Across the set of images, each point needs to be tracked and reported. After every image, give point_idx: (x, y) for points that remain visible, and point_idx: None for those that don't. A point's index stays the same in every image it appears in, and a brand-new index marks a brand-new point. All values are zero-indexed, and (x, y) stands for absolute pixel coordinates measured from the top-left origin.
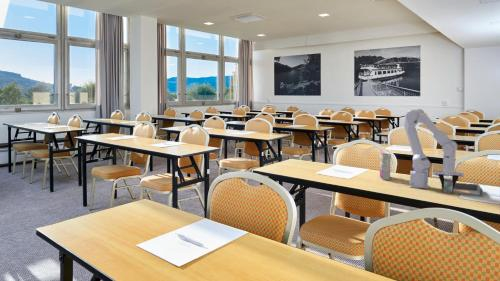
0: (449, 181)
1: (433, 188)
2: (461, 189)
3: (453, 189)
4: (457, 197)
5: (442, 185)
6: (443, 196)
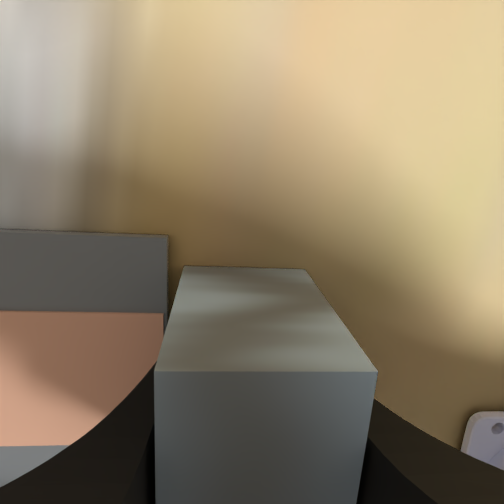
0: (233, 445)
1: None
2: None
3: None
4: (124, 11)
5: None
6: (354, 17)
